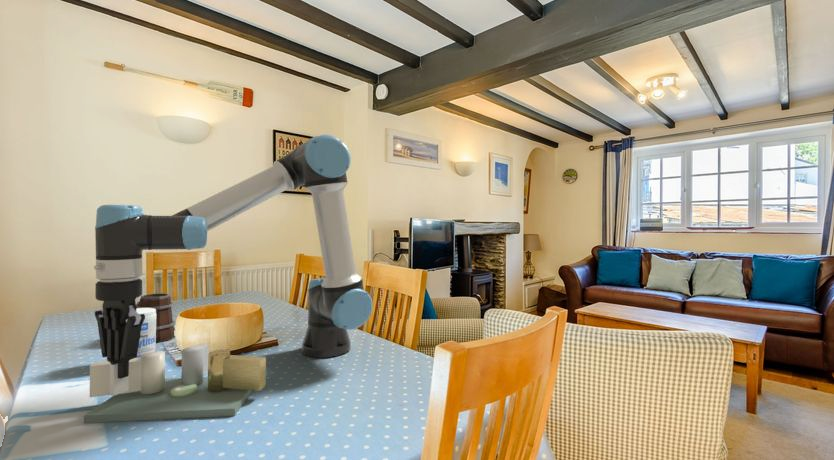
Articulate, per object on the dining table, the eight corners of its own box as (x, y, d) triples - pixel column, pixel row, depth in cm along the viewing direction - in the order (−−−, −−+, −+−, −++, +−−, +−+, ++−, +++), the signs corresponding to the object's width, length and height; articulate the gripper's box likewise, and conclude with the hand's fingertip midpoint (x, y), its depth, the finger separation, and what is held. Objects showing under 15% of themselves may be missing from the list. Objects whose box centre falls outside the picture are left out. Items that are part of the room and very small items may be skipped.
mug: (183, 336, 128) (183, 293, 128) (146, 346, 117) (147, 299, 117) (154, 331, 134) (154, 290, 134) (116, 340, 123) (117, 295, 123)
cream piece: (161, 392, 81) (162, 356, 81) (87, 402, 76) (88, 363, 76) (166, 384, 85) (167, 350, 85) (96, 393, 80) (96, 356, 80)
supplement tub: (135, 370, 97) (136, 315, 97) (102, 368, 98) (103, 314, 98) (163, 357, 107) (164, 307, 107) (134, 356, 108) (135, 306, 108)
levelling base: (261, 378, 94) (262, 340, 94) (234, 415, 75) (235, 368, 75) (143, 382, 90) (143, 342, 90) (83, 423, 71) (84, 373, 71)
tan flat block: (216, 382, 86) (216, 349, 86) (267, 386, 85) (268, 352, 85) (203, 390, 82) (203, 355, 82) (257, 395, 80) (257, 359, 80)
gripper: (79, 279, 75) (78, 394, 75) (118, 283, 70) (117, 406, 70) (120, 275, 82) (120, 380, 82) (158, 278, 77) (158, 390, 77)
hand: (119, 392), depth 76 cm, fingers closed
